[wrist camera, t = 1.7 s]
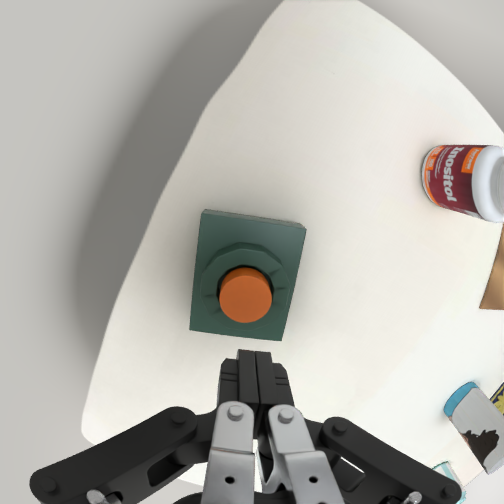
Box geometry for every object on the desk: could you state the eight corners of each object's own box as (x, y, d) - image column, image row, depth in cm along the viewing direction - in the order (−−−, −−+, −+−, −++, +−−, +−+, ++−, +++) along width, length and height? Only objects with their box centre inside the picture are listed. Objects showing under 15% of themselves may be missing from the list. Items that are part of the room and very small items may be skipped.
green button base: (204, 209, 24) (198, 216, 20) (300, 223, 24) (312, 234, 20) (192, 318, 26) (186, 341, 22) (278, 328, 27) (284, 353, 23)
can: (439, 474, 42) (457, 507, 30) (417, 482, 41) (434, 519, 30) (453, 457, 40) (474, 492, 28) (430, 466, 39) (451, 505, 28)
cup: (437, 416, 33) (479, 480, 19) (458, 383, 32) (510, 446, 17) (461, 411, 34) (502, 466, 20) (481, 380, 32) (530, 434, 18)
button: (224, 264, 21) (222, 272, 19) (273, 270, 21) (276, 279, 20) (218, 308, 22) (216, 319, 20) (264, 314, 22) (266, 325, 21)
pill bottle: (422, 137, 23) (507, 132, 12) (465, 154, 23) (545, 159, 12) (415, 201, 24) (498, 225, 14) (458, 211, 25) (536, 237, 14)
